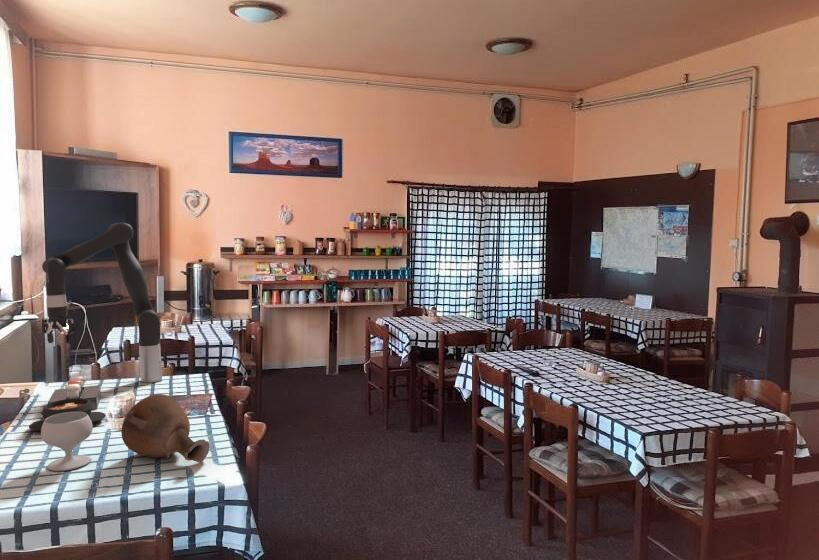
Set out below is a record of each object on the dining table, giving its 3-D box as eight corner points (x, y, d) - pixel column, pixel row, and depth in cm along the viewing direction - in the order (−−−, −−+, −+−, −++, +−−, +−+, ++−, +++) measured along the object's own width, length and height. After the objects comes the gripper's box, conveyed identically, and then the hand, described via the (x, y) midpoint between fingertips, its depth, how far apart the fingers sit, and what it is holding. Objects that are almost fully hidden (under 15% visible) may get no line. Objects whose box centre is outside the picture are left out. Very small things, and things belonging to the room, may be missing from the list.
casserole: (29, 439, 216) (27, 416, 215) (29, 425, 231) (27, 403, 231) (108, 426, 228) (107, 404, 228) (103, 413, 244) (102, 392, 243)
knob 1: (84, 389, 265) (83, 375, 264) (83, 392, 260) (82, 378, 260) (71, 390, 263) (70, 376, 262) (69, 393, 258) (68, 379, 258)
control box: (101, 396, 268) (100, 385, 267) (97, 409, 249) (96, 397, 249) (56, 401, 262) (55, 389, 261) (48, 414, 243) (47, 402, 243)
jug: (113, 455, 200) (174, 491, 185) (104, 402, 193) (166, 435, 178) (167, 425, 216) (227, 456, 201) (161, 376, 209) (222, 404, 194)
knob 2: (81, 397, 252) (80, 383, 251) (79, 401, 247) (78, 386, 247) (67, 399, 250) (66, 384, 249) (65, 402, 245) (64, 387, 245)
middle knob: (82, 393, 258) (82, 379, 258) (81, 396, 254) (80, 382, 253) (69, 394, 257) (68, 380, 256) (67, 397, 252) (66, 383, 251)
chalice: (83, 452, 203) (80, 407, 201) (102, 462, 194) (99, 415, 193) (35, 466, 192) (32, 418, 191) (54, 477, 183) (51, 427, 182)
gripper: (77, 304, 267) (80, 341, 268) (48, 303, 269) (51, 340, 271) (65, 306, 259) (68, 345, 261) (35, 306, 262) (38, 344, 264)
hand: (59, 342), depth 266 cm, fingers open, 8 cm apart
